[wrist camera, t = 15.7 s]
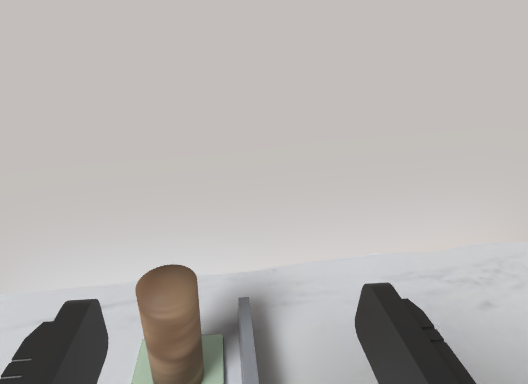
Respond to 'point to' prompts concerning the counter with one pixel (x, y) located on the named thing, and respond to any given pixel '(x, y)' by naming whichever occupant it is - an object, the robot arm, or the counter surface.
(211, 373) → the pad
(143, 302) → the walnut canister
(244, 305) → the low wall
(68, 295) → the counter surface
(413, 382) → the robot arm
